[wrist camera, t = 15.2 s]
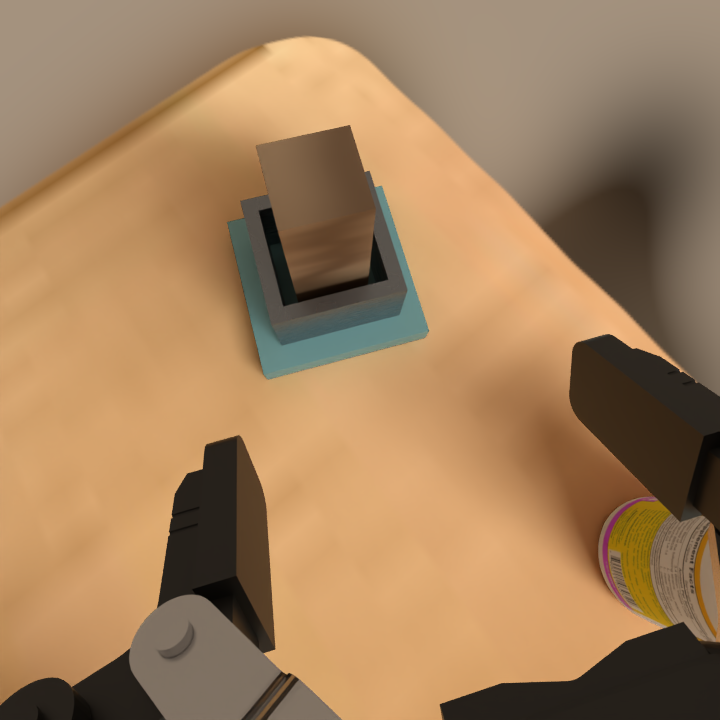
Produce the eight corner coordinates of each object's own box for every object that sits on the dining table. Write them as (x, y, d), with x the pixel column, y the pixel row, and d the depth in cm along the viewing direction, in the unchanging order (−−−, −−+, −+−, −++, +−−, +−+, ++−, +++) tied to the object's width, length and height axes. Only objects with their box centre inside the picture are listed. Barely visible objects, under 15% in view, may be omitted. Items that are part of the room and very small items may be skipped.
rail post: (301, 314, 29) (278, 231, 19) (285, 254, 30) (255, 145, 20) (366, 297, 29) (375, 208, 19) (349, 238, 30) (349, 125, 20)
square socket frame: (281, 345, 28) (271, 325, 24) (254, 236, 30) (240, 200, 26) (399, 315, 29) (407, 289, 25) (366, 209, 30) (369, 170, 27)
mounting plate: (267, 379, 29) (263, 374, 28) (232, 233, 31) (227, 222, 30) (425, 337, 30) (429, 330, 29) (380, 198, 32) (381, 185, 31)
